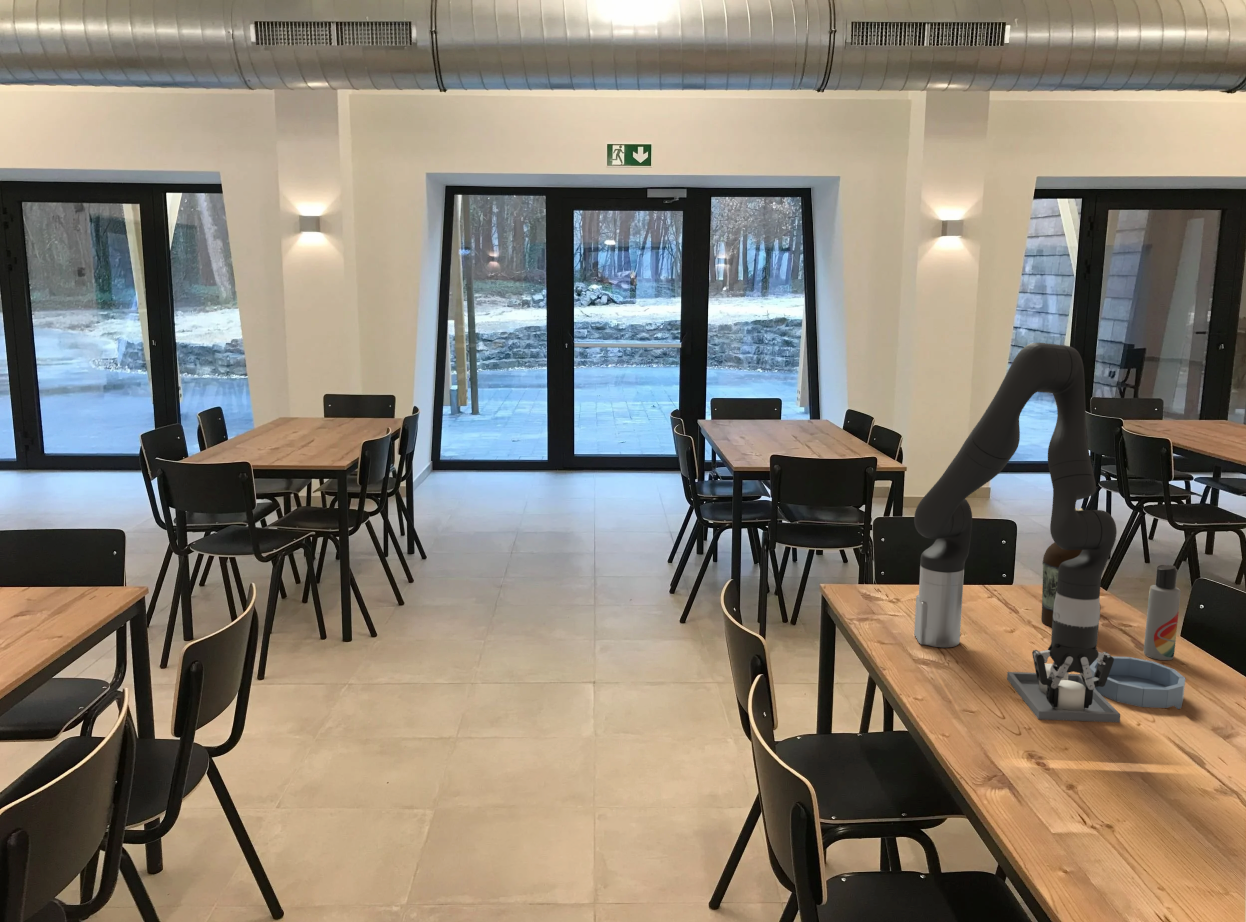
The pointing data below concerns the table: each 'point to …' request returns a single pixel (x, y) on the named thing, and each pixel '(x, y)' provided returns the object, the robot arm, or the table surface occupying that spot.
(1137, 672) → the bowl
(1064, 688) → the white marshmallow
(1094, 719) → the parts tray
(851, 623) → the table surface
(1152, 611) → the lotion bottle
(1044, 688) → the marshmallow
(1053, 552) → the olive oil
